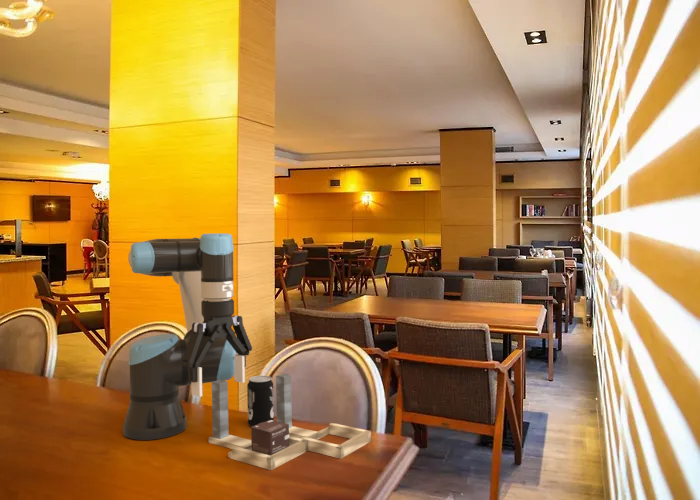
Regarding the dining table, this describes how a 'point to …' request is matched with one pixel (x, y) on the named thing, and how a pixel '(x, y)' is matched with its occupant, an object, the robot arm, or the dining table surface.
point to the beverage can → (260, 400)
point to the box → (269, 437)
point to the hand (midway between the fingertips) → (219, 388)
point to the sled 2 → (339, 451)
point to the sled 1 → (242, 445)
